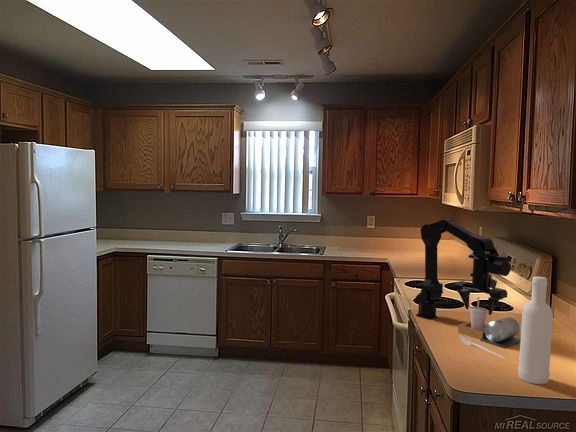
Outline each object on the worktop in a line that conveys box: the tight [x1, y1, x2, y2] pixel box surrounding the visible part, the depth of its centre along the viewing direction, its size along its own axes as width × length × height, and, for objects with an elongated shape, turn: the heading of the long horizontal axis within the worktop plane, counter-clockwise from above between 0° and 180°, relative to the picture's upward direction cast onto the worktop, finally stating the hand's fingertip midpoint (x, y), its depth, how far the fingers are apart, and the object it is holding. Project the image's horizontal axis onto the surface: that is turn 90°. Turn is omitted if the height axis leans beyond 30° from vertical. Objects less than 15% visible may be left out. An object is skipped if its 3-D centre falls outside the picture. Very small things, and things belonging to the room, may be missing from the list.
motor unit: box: [457, 316, 521, 349], centre depth 169 cm, size 19×13×8 cm
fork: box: [458, 334, 508, 360], centre depth 157 cm, size 3×20×2 cm, turn 24°
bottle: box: [517, 275, 554, 385], centre depth 132 cm, size 8×8×30 cm
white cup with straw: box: [469, 296, 488, 331], centre depth 173 cm, size 6×6×14 cm
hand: (478, 311), depth 173 cm, fingers open, 9 cm apart
